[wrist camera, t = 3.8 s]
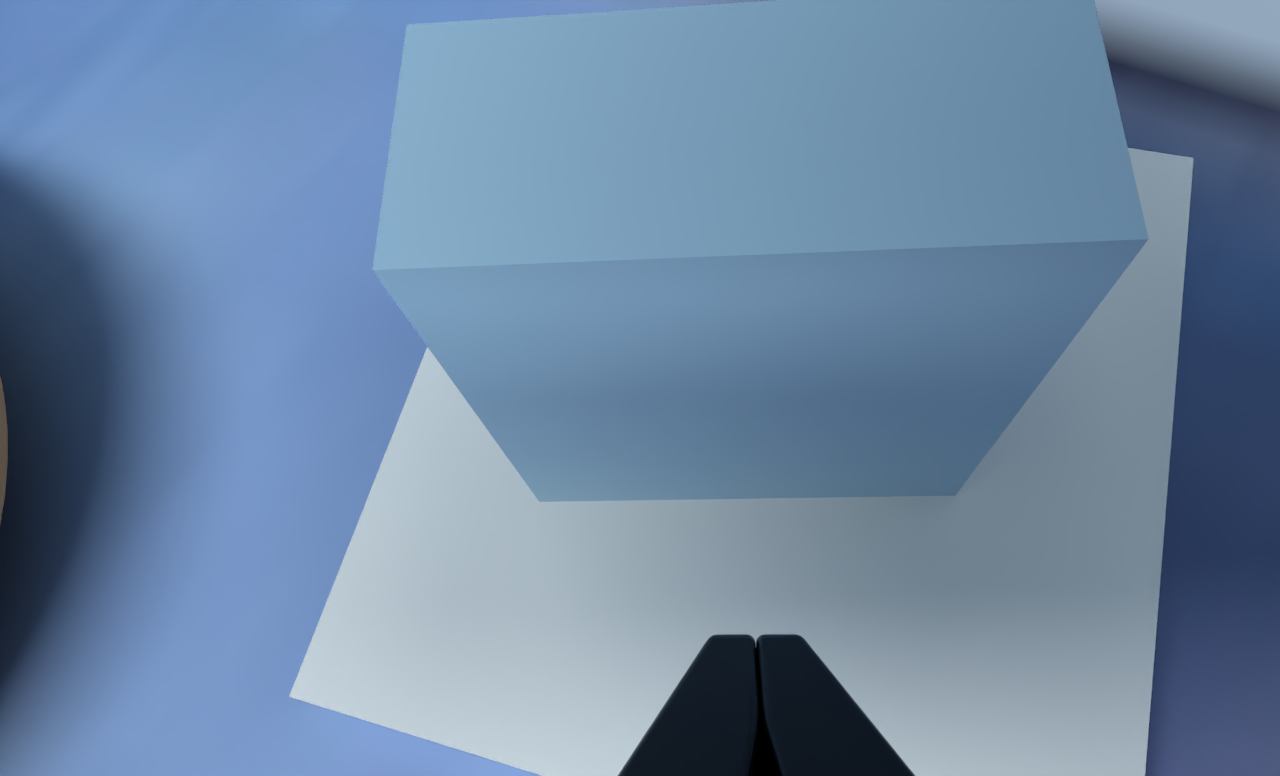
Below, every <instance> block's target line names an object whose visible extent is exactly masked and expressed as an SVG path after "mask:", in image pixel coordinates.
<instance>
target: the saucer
mask: <svg viewBox="0 0 1280 776" xmlns="http://www.w3.org/2000/svg"><path fill="white" fill-rule="evenodd" d="M7 464H8V429H7V418H6V406H5V398H4V392H3V386H2V380H1V376H0V525H1V519H2V511H3V505H4V500H5V490H6V477H7Z"/></svg>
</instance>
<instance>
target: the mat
mask: <svg viewBox="0 0 1280 776" xmlns="http://www.w3.org/2000/svg"><path fill="white" fill-rule="evenodd" d="M1128 151H1129V155H1130V160H1131V164H1132V169H1133V173H1134V177H1135V182H1136V186H1137V190H1138V195H1139V199H1140V204H1141V208H1142V212H1143V217H1144V221H1145V225H1146V230H1147V234H1148V241H1147V242H1146V243H1145V245H1144V246H1143V247H1142V249H1141V250H1140V251H1139V253H1138V254H1137V255H1136V257H1135V258H1134V259H1133V261H1132V262H1131V263H1130V265H1129V266H1128V267H1127V269H1126V270H1125V271H1124V273H1123V274H1122V275H1121V277H1120V278H1119V279H1118V281H1117V282H1116V283H1115V285H1114V286H1113V287H1112V289H1111V290H1110V291H1109V293H1108V294H1107V295H1106V297H1105V298H1104V299H1103V301H1102V302H1101V303H1100V304H1099V306H1098V307H1097V308H1096V310H1095V311H1094V312H1093V314H1092V315H1091V316H1090V318H1089V319H1088V320H1087V322H1086V323H1085V324H1084V326H1083V327H1082V328H1081V330H1080V331H1079V332H1078V334H1077V335H1076V336H1075V338H1074V339H1073V340H1072V342H1071V343H1070V344H1069V346H1068V347H1067V348H1066V350H1065V351H1064V352H1063V354H1062V355H1061V356H1060V358H1059V359H1058V360H1057V362H1056V363H1055V364H1054V366H1053V367H1052V368H1051V369H1050V371H1049V372H1048V373H1047V375H1046V376H1045V377H1044V379H1043V380H1042V381H1041V383H1040V384H1039V385H1038V387H1037V388H1036V389H1035V391H1034V392H1033V393H1032V395H1031V396H1030V397H1029V399H1028V400H1027V401H1026V403H1025V404H1024V405H1023V407H1022V408H1021V409H1020V411H1019V412H1018V413H1017V415H1016V416H1015V417H1014V419H1013V420H1012V421H1011V423H1010V424H1009V425H1008V427H1007V428H1006V429H1005V431H1004V432H1003V433H1002V434H1001V436H1000V437H999V438H998V440H997V441H996V442H995V444H994V445H993V446H992V448H991V449H990V450H989V452H988V453H987V454H986V456H985V457H984V458H983V460H982V461H981V462H980V464H979V465H978V466H977V468H976V469H975V470H974V472H973V473H972V474H971V476H970V477H969V478H968V480H967V481H966V482H965V484H964V485H963V486H962V488H961V489H960V490H959V492H958V493H957V494H956V496H893V497H827V498H760V499H694V500H628V501H561V502H539V501H538V499H537V498H536V497H535V495H534V494H533V492H532V491H531V490H530V488H529V487H528V485H527V484H526V483H525V481H524V480H523V479H522V477H521V476H520V474H519V473H518V472H517V470H516V469H515V467H514V466H513V465H512V463H511V462H510V460H509V459H508V458H507V456H506V455H505V454H504V452H503V451H502V449H501V448H500V447H499V445H498V444H497V442H496V441H495V440H494V438H493V437H492V436H491V434H490V433H489V431H488V430H487V429H486V427H485V426H484V424H483V423H482V422H481V420H480V419H479V418H478V416H477V415H476V413H475V412H474V411H473V409H472V408H471V406H470V405H469V404H468V402H467V401H466V399H465V398H464V397H463V395H462V394H461V393H460V391H459V390H458V388H457V387H456V386H455V384H454V383H453V381H452V380H451V379H450V377H449V376H448V375H447V373H446V372H445V370H444V369H443V368H442V366H441V365H440V363H439V362H438V361H437V359H436V358H435V356H434V355H433V354H432V352H431V351H430V350H429V348H428V347H427V349H426V351H425V354H424V357H423V359H422V362H421V364H420V367H419V369H418V372H417V374H416V377H415V379H414V382H413V384H412V387H411V389H410V392H409V394H408V397H407V400H406V402H405V405H404V407H403V410H402V412H401V415H400V417H399V420H398V422H397V425H396V427H395V430H394V432H393V435H392V438H391V440H390V443H389V445H388V448H387V450H386V453H385V455H384V458H383V460H382V463H381V465H380V468H379V470H378V473H377V476H376V478H375V481H374V483H373V486H372V488H371V491H370V493H369V496H368V498H367V501H366V503H365V506H364V508H363V511H362V513H361V516H360V519H359V521H358V524H357V526H356V529H355V531H354V534H353V536H352V539H351V541H350V544H349V546H348V549H347V551H346V554H345V557H344V559H343V562H342V564H341V567H340V569H339V572H338V574H337V577H336V579H335V582H334V584H333V587H332V589H331V592H330V595H329V597H328V600H327V602H326V605H325V607H324V610H323V612H322V615H321V617H320V620H319V622H318V625H317V627H316V630H315V632H314V635H313V638H312V640H311V643H310V645H309V648H308V650H307V653H306V655H305V658H304V660H303V663H302V665H301V668H300V670H299V673H298V676H297V678H296V681H295V683H294V686H293V688H292V691H291V693H290V696H289V697H292V698H295V699H298V700H302V701H305V702H308V703H311V704H314V705H318V706H321V707H324V708H327V709H330V710H334V711H337V712H340V713H343V714H347V715H350V716H353V717H356V718H359V719H363V720H366V721H369V722H372V723H375V724H379V725H382V726H385V727H388V728H391V729H395V730H398V731H401V732H404V733H407V734H411V735H414V736H417V737H420V738H423V739H427V740H430V741H433V742H436V743H439V744H443V745H446V746H449V747H452V748H455V749H459V750H462V751H465V752H468V753H471V754H475V755H478V756H481V757H484V758H487V759H491V760H494V761H497V762H500V763H503V764H507V765H510V766H513V767H516V768H519V769H523V770H526V771H529V772H532V773H535V774H539V775H542V776H618V774H619V773H620V771H621V770H622V768H623V767H624V765H625V764H626V762H627V761H628V759H629V758H630V756H631V755H632V753H633V752H634V750H635V748H636V747H637V745H638V744H639V742H640V741H641V739H642V738H643V736H644V735H645V733H646V732H647V730H648V729H649V727H650V726H651V724H652V723H653V721H654V720H655V718H656V717H657V715H658V714H659V712H660V711H661V709H662V708H663V706H664V705H665V703H666V701H667V700H668V698H669V697H670V695H671V694H672V692H673V691H674V689H675V688H676V686H677V685H678V683H679V682H680V680H681V679H682V677H683V676H684V674H685V673H686V671H687V670H688V668H689V667H690V665H691V664H692V662H693V661H694V659H695V658H696V656H697V654H698V653H699V651H700V650H701V648H702V647H703V645H704V644H705V642H706V641H707V640H708V638H709V637H711V636H712V635H716V634H748V635H751V636H752V637H753V638H754V639H755V643H756V640H757V638H758V637H759V636H760V635H763V634H797V635H800V636H801V637H803V638H804V639H805V640H806V642H807V643H808V644H809V645H810V646H811V648H812V649H813V650H814V651H815V653H816V654H817V655H818V656H819V658H820V659H821V660H822V661H823V662H824V664H825V665H826V666H827V667H828V669H829V670H830V671H831V672H832V674H833V675H834V676H835V677H836V679H837V680H838V681H839V682H840V683H841V685H842V686H843V687H844V688H845V690H846V691H847V692H848V693H849V695H850V696H851V697H852V698H853V700H854V701H855V702H856V703H857V704H858V706H859V707H860V708H861V709H862V711H863V712H864V713H865V714H866V716H867V717H868V718H869V719H870V720H871V722H872V723H873V724H874V725H875V727H876V728H877V729H878V730H879V732H880V733H881V734H882V735H883V737H884V738H885V739H886V740H887V741H888V743H889V744H890V745H891V746H892V748H893V749H894V750H895V751H896V753H897V754H898V755H899V756H900V758H901V759H902V760H903V761H904V762H905V764H906V765H907V766H908V767H909V769H910V770H911V771H912V772H913V774H914V775H915V776H1145V769H1146V756H1147V743H1148V731H1149V718H1150V705H1151V693H1152V680H1153V667H1154V655H1155V642H1156V629H1157V617H1158V604H1159V591H1160V579H1161V566H1162V553H1163V540H1164V528H1165V515H1166V502H1167V490H1168V477H1169V464H1170V452H1171V439H1172V426H1173V414H1174V401H1175V388H1176V376H1177V363H1178V350H1179V338H1180V325H1181V312H1182V299H1183V287H1184V274H1185V261H1186V249H1187V236H1188V223H1189V211H1190V198H1191V185H1192V173H1193V160H1194V158H1191V157H1184V156H1178V155H1172V154H1165V153H1159V152H1152V151H1146V150H1139V149H1133V148H1128Z"/></svg>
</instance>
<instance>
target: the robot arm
mask: <svg viewBox="0 0 1280 776" xmlns="http://www.w3.org/2000/svg"><path fill="white" fill-rule="evenodd" d="M618 776H915V775H914V774H913V772H912V771H911V770H910V769H909V767H908V766H907V765H906V764H905V762H904V761H903V760H902V759H901V758H900V756H899V755H898V754H897V753H896V751H895V750H894V749H893V748H892V746H891V745H890V744H889V743H888V741H887V740H886V739H885V738H884V737H883V735H882V734H881V733H880V732H879V730H878V729H877V728H876V727H875V725H874V724H873V723H872V722H871V720H870V719H869V718H868V717H867V716H866V714H865V713H864V712H863V711H862V709H861V708H860V707H859V706H858V704H857V703H856V702H855V701H854V700H853V698H852V697H851V696H850V695H849V693H848V692H847V691H846V690H845V688H844V687H843V686H842V685H841V683H840V682H839V681H838V680H837V679H836V677H835V676H834V675H833V674H832V672H831V671H830V670H829V669H828V667H827V666H826V665H825V664H824V662H823V661H822V660H821V659H820V658H819V656H818V655H817V654H816V653H815V651H814V650H813V649H812V648H811V646H810V645H809V644H808V643H807V642H806V640H805V639H804V638H803V637H801V636H800V635H797V634H763V635H760V636H759V637H758V638H757V640H756V643H755V639H754V638H753V637H752V636H751V635H748V634H716V635H712V636H711V637H709V638H708V640H707V641H706V642H705V644H704V645H703V647H702V648H701V650H700V651H699V653H698V654H697V656H696V658H695V659H694V661H693V662H692V664H691V665H690V667H689V668H688V670H687V671H686V673H685V674H684V676H683V677H682V679H681V680H680V682H679V683H678V685H677V686H676V688H675V689H674V691H673V692H672V694H671V695H670V697H669V698H668V700H667V701H666V703H665V705H664V706H663V708H662V709H661V711H660V712H659V714H658V715H657V717H656V718H655V720H654V721H653V723H652V724H651V726H650V727H649V729H648V730H647V732H646V733H645V735H644V736H643V738H642V739H641V741H640V742H639V744H638V745H637V747H636V748H635V750H634V752H633V753H632V755H631V756H630V758H629V759H628V761H627V762H626V764H625V765H624V767H623V768H622V770H621V771H620V773H619V774H618Z"/></svg>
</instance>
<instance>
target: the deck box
mask: <svg viewBox="0 0 1280 776" xmlns="http://www.w3.org/2000/svg"><path fill="white" fill-rule="evenodd" d="M1147 241H1148V234H1147V230H1146V225H1145V221H1144V217H1143V212H1142V208H1141V204H1140V199H1139V195H1138V190H1137V186H1136V182H1135V177H1134V173H1133V169H1132V164H1131V160H1130V155H1129V151H1128V147H1127V142H1126V138H1125V134H1124V129H1123V125H1122V121H1121V116H1120V112H1119V107H1118V103H1117V99H1116V94H1115V90H1114V86H1113V81H1112V77H1111V72H1110V68H1109V64H1108V59H1107V55H1106V51H1105V46H1104V42H1103V37H1102V33H1101V29H1100V24H1099V20H1098V16H1097V11H1096V7H1095V2H1094V0H774V1H759V2H743V3H728V4H713V5H698V6H682V7H667V8H652V9H636V10H621V11H606V12H591V13H575V14H560V15H545V16H530V17H514V18H499V19H484V20H468V21H453V22H438V23H423V24H407V26H406V34H405V41H404V48H403V55H402V62H401V69H400V76H399V83H398V90H397V98H396V105H395V112H394V119H393V126H392V133H391V140H390V147H389V155H388V162H387V169H386V176H385V183H384V190H383V197H382V204H381V211H380V219H379V226H378V233H377V240H376V247H375V254H374V261H373V268H372V271H373V272H374V273H375V275H376V276H377V277H378V279H379V280H380V282H381V283H382V284H383V286H384V287H385V289H386V290H387V291H388V293H389V294H390V295H391V297H392V298H393V300H394V301H395V302H396V304H397V305H398V307H399V308H400V309H401V311H402V312H403V313H404V315H405V316H406V318H407V319H408V320H409V322H410V323H411V325H412V326H413V327H414V329H415V330H416V332H417V333H418V334H419V336H420V337H421V338H422V340H423V341H424V343H425V344H426V345H427V347H428V348H429V350H430V351H431V352H432V354H433V355H434V356H435V358H436V359H437V361H438V362H439V363H440V365H441V366H442V368H443V369H444V370H445V372H446V373H447V375H448V376H449V377H450V379H451V380H452V381H453V383H454V384H455V386H456V387H457V388H458V390H459V391H460V393H461V394H462V395H463V397H464V398H465V399H466V401H467V402H468V404H469V405H470V406H471V408H472V409H473V411H474V412H475V413H476V415H477V416H478V418H479V419H480V420H481V422H482V423H483V424H484V426H485V427H486V429H487V430H488V431H489V433H490V434H491V436H492V437H493V438H494V440H495V441H496V442H497V444H498V445H499V447H500V448H501V449H502V451H503V452H504V454H505V455H506V456H507V458H508V459H509V460H510V462H511V463H512V465H513V466H514V467H515V469H516V470H517V472H518V473H519V474H520V476H521V477H522V479H523V480H524V481H525V483H526V484H527V485H528V487H529V488H530V490H531V491H532V492H533V494H534V495H535V497H536V498H537V499H538V501H539V502H561V501H628V500H694V499H760V498H827V497H893V496H956V494H957V493H958V492H959V490H960V489H961V488H962V486H963V485H964V484H965V482H966V481H967V480H968V478H969V477H970V476H971V474H972V473H973V472H974V470H975V469H976V468H977V466H978V465H979V464H980V462H981V461H982V460H983V458H984V457H985V456H986V454H987V453H988V452H989V450H990V449H991V448H992V446H993V445H994V444H995V442H996V441H997V440H998V438H999V437H1000V436H1001V434H1002V433H1003V432H1004V431H1005V429H1006V428H1007V427H1008V425H1009V424H1010V423H1011V421H1012V420H1013V419H1014V417H1015V416H1016V415H1017V413H1018V412H1019V411H1020V409H1021V408H1022V407H1023V405H1024V404H1025V403H1026V401H1027V400H1028V399H1029V397H1030V396H1031V395H1032V393H1033V392H1034V391H1035V389H1036V388H1037V387H1038V385H1039V384H1040V383H1041V381H1042V380H1043V379H1044V377H1045V376H1046V375H1047V373H1048V372H1049V371H1050V369H1051V368H1052V367H1053V366H1054V364H1055V363H1056V362H1057V360H1058V359H1059V358H1060V356H1061V355H1062V354H1063V352H1064V351H1065V350H1066V348H1067V347H1068V346H1069V344H1070V343H1071V342H1072V340H1073V339H1074V338H1075V336H1076V335H1077V334H1078V332H1079V331H1080V330H1081V328H1082V327H1083V326H1084V324H1085V323H1086V322H1087V320H1088V319H1089V318H1090V316H1091V315H1092V314H1093V312H1094V311H1095V310H1096V308H1097V307H1098V306H1099V304H1100V303H1101V302H1102V301H1103V299H1104V298H1105V297H1106V295H1107V294H1108V293H1109V291H1110V290H1111V289H1112V287H1113V286H1114V285H1115V283H1116V282H1117V281H1118V279H1119V278H1120V277H1121V275H1122V274H1123V273H1124V271H1125V270H1126V269H1127V267H1128V266H1129V265H1130V263H1131V262H1132V261H1133V259H1134V258H1135V257H1136V255H1137V254H1138V253H1139V251H1140V250H1141V249H1142V247H1143V246H1144V245H1145V243H1146V242H1147Z"/></svg>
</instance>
